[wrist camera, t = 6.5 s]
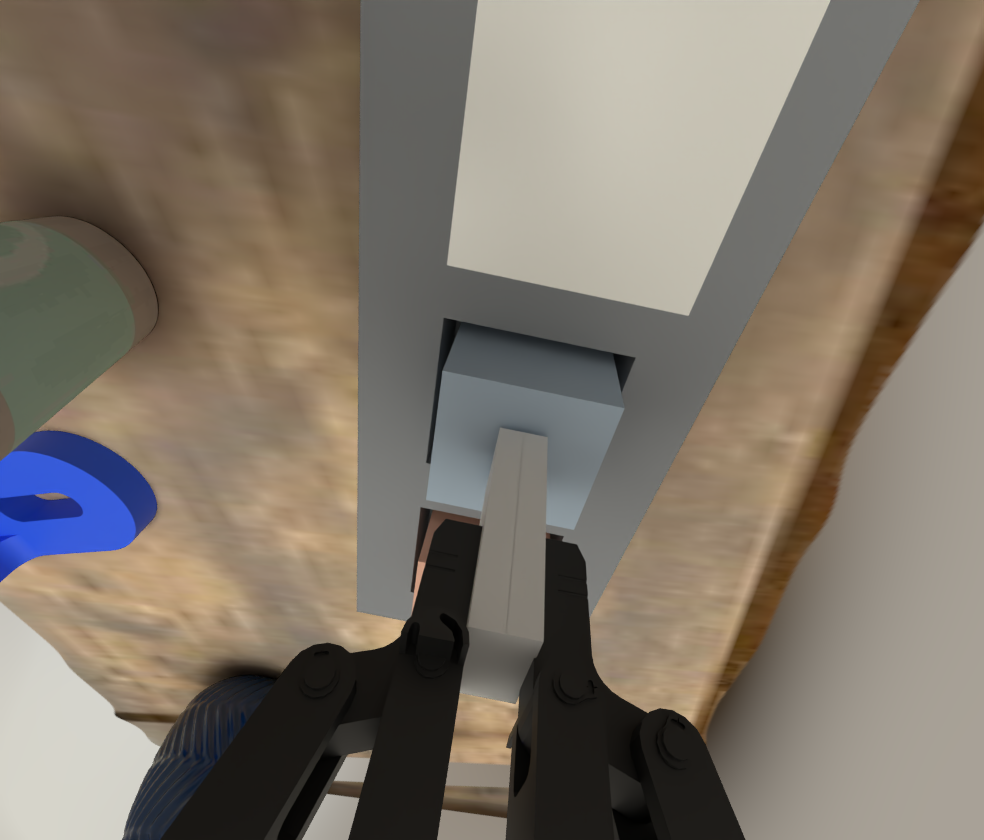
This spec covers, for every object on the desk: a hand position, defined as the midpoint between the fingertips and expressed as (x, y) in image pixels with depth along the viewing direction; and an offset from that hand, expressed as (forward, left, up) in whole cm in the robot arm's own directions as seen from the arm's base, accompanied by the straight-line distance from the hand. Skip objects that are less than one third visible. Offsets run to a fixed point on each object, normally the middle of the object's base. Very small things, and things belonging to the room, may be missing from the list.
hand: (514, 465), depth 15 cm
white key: (-9, 0, -3) cm, 10 cm away
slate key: (0, 0, -5) cm, 5 cm away
